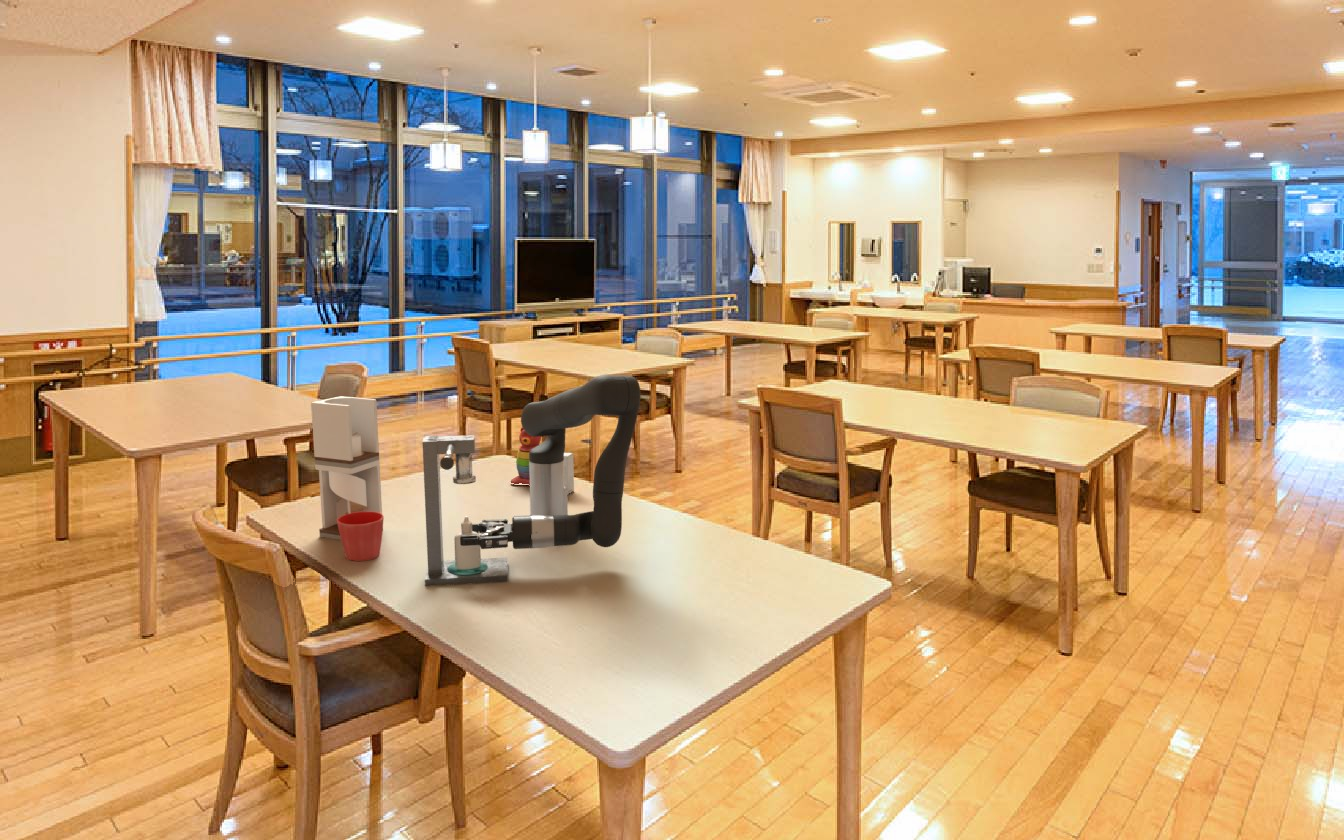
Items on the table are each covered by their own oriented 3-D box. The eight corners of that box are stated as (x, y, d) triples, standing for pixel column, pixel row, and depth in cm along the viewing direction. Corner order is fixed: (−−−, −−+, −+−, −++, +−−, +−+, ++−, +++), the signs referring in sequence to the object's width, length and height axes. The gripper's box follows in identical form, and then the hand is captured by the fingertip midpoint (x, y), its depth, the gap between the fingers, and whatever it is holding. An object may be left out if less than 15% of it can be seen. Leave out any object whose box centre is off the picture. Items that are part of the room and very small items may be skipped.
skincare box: (574, 491, 287) (574, 453, 285) (568, 494, 283) (567, 456, 281) (556, 489, 289) (555, 451, 287) (550, 493, 285) (549, 454, 283)
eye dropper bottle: (459, 563, 218) (458, 513, 216) (483, 564, 217) (481, 514, 215) (452, 569, 214) (450, 518, 212) (476, 571, 213) (474, 520, 211)
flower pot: (343, 566, 221) (340, 526, 219) (336, 552, 230) (333, 514, 228) (389, 559, 225) (387, 520, 224) (380, 546, 235) (378, 508, 233)
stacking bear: (507, 485, 294) (506, 429, 290) (523, 477, 303) (522, 423, 300) (538, 488, 290) (537, 432, 287) (553, 480, 299) (553, 426, 296)
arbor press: (507, 563, 223) (504, 431, 217) (507, 603, 199) (503, 455, 193) (429, 567, 220) (423, 433, 214) (420, 608, 196) (413, 458, 190)
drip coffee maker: (319, 536, 242) (310, 402, 235) (348, 525, 252) (340, 396, 245) (355, 542, 238) (347, 405, 231) (383, 530, 247) (376, 399, 241)
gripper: (532, 507, 223) (462, 510, 220) (533, 525, 209) (459, 528, 206) (532, 537, 224) (463, 540, 221) (534, 557, 210) (460, 561, 208)
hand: (461, 534), depth 214 cm, fingers open, 8 cm apart
